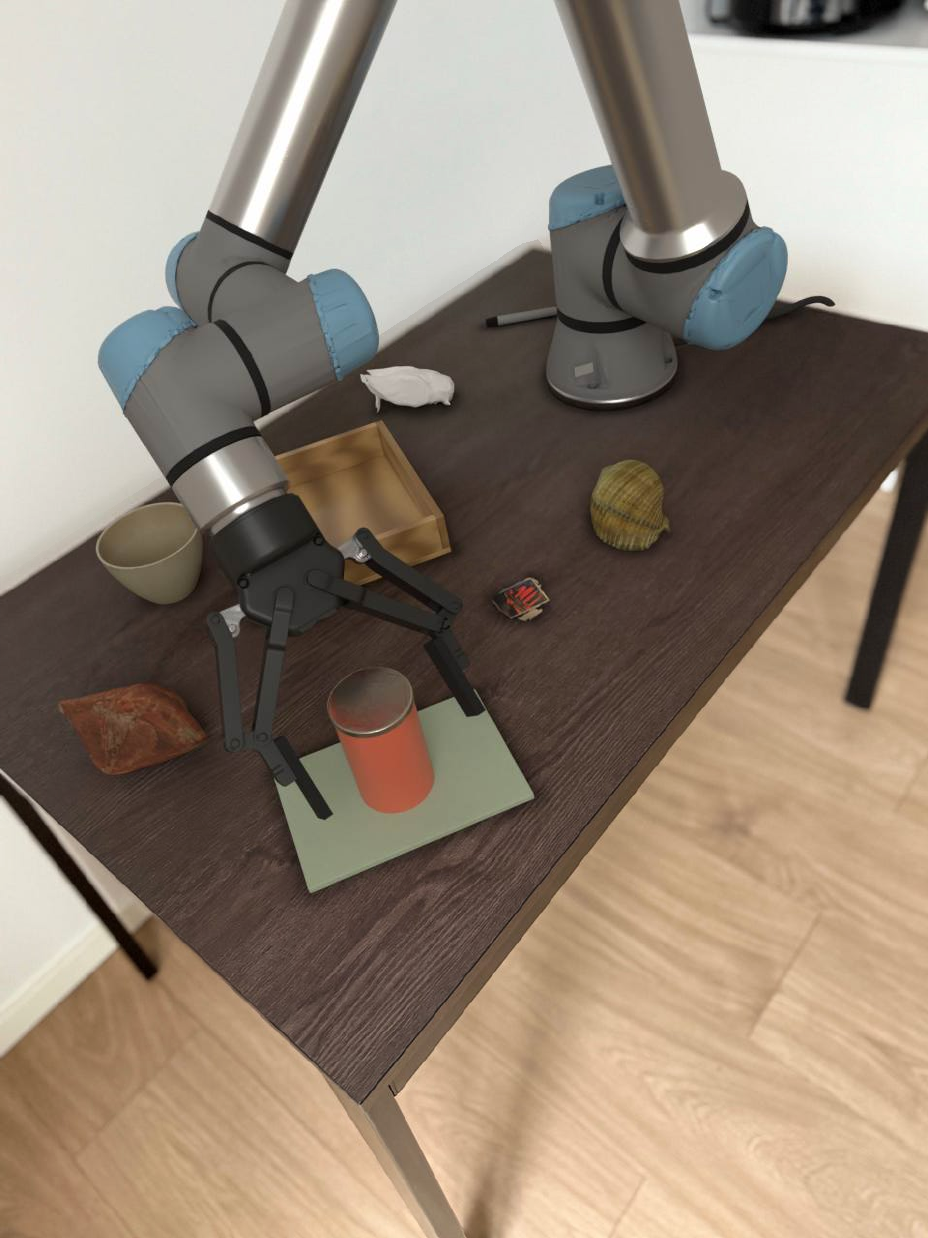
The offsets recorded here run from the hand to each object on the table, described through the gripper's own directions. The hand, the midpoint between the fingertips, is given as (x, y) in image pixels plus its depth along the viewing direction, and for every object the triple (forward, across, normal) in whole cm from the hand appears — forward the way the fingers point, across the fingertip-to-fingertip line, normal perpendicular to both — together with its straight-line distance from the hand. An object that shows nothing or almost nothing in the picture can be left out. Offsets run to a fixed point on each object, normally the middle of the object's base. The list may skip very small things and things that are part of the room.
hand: (403, 763), depth 70 cm
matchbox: (-4, -20, -12) cm, 24 cm away
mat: (+2, 0, -5) cm, 6 cm away
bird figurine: (-30, -33, -37) cm, 58 cm away
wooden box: (-20, -13, -28) cm, 37 cm away
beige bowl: (-24, +4, -31) cm, 39 cm away
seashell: (-5, -35, -13) cm, 37 cm away
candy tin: (+2, 0, -5) cm, 5 cm away
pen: (-32, -56, -40) cm, 76 cm away
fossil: (-11, +14, -18) cm, 25 cm away
